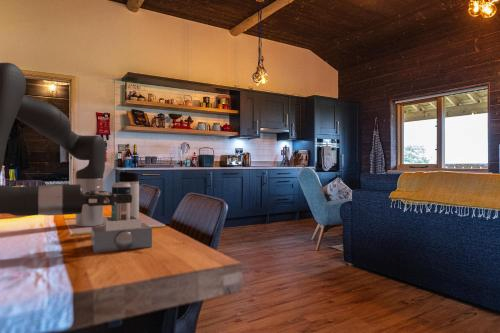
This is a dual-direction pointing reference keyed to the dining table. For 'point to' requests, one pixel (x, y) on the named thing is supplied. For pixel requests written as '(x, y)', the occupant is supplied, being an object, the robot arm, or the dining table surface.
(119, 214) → the beer can
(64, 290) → the dining table surface
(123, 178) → the travel mug
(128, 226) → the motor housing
